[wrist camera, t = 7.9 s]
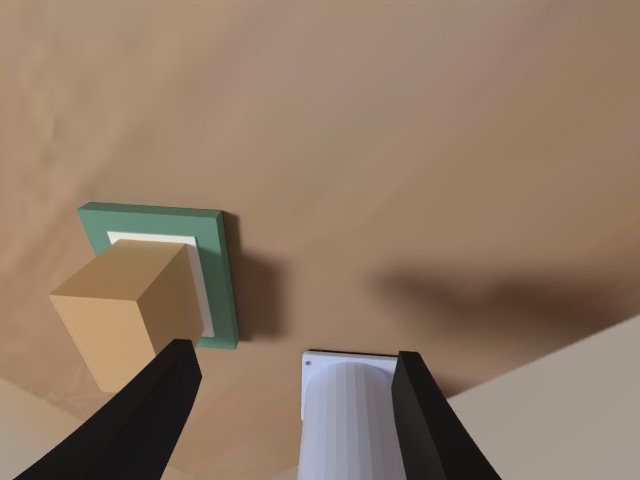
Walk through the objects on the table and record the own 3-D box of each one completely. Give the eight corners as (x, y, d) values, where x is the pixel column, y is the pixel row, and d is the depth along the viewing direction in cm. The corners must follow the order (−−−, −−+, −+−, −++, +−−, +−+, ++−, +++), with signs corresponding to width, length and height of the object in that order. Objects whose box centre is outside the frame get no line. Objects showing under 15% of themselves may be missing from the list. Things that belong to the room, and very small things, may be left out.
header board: (239, 339, 23) (222, 386, 20) (138, 331, 23) (103, 377, 20) (221, 210, 18) (193, 246, 14) (89, 202, 18) (29, 235, 14)
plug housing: (204, 329, 21) (170, 396, 17) (149, 325, 21) (101, 391, 17) (185, 243, 18) (136, 301, 13) (119, 238, 18) (48, 294, 13)
